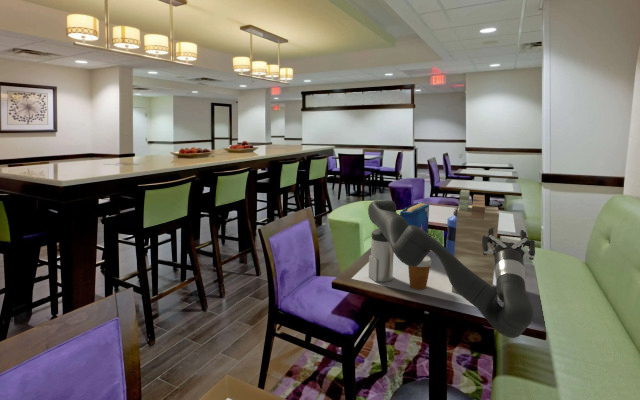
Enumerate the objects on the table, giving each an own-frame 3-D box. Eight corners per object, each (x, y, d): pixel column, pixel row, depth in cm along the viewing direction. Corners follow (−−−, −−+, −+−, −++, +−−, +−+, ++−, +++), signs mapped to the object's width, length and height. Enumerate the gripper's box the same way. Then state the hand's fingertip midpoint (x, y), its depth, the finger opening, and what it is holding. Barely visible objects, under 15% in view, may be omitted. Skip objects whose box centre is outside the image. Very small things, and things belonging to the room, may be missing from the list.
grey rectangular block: (518, 303, 133) (524, 249, 129) (497, 300, 136) (502, 246, 132) (515, 287, 147) (520, 237, 143) (495, 284, 149) (500, 235, 146)
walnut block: (484, 219, 125) (484, 207, 124) (471, 218, 126) (472, 206, 125) (483, 205, 148) (484, 195, 147) (472, 204, 150) (473, 194, 149)
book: (410, 262, 175) (412, 210, 170) (396, 259, 179) (398, 208, 175) (427, 250, 192) (430, 203, 187) (414, 248, 196) (416, 202, 192)
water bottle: (441, 256, 183) (444, 207, 179) (451, 252, 190) (454, 204, 185) (459, 261, 177) (462, 210, 172) (468, 256, 183) (472, 207, 178)
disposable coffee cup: (415, 293, 142) (417, 263, 140) (400, 284, 150) (402, 255, 148) (435, 289, 145) (437, 260, 143) (419, 280, 154) (421, 252, 152)
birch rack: (491, 298, 138) (500, 195, 130) (451, 291, 143) (458, 192, 136) (490, 284, 150) (499, 189, 143) (454, 278, 156) (460, 187, 148)
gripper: (481, 274, 110) (481, 237, 122) (535, 281, 105) (530, 241, 117) (483, 257, 106) (483, 220, 118) (540, 263, 101) (534, 223, 112)
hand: (506, 230), depth 117 cm, fingers open, 8 cm apart
